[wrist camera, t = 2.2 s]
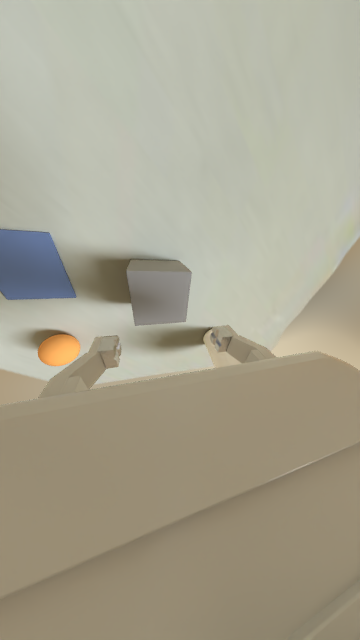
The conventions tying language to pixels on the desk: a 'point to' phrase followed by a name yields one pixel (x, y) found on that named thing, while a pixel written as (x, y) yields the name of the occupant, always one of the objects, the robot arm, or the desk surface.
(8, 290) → the tape mark
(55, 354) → the orange egg
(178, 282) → the block
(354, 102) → the desk surface
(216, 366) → the white cup
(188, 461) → the robot arm
